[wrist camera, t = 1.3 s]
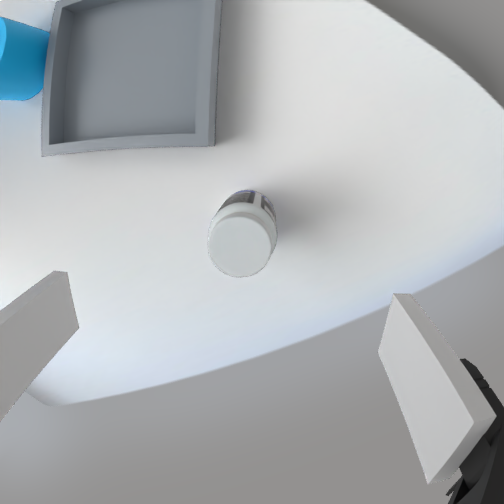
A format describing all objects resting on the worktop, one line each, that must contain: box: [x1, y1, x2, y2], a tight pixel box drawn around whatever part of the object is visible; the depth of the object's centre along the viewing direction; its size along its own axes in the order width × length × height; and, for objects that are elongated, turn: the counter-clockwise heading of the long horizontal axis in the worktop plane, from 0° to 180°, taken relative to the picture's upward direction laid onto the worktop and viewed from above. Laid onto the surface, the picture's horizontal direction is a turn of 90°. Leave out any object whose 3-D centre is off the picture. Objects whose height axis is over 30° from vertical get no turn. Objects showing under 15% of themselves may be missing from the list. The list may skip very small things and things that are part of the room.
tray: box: [41, 0, 222, 157], centre depth 22 cm, size 16×16×3 cm
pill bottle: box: [208, 190, 277, 277], centre depth 24 cm, size 5×5×8 cm
